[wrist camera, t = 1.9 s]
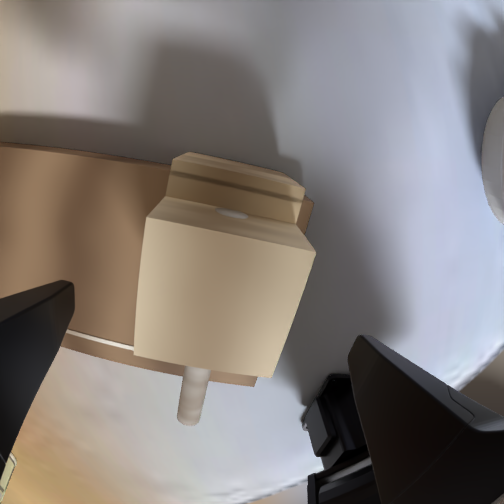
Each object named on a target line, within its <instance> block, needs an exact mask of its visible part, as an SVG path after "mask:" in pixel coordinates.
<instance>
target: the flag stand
mask: <svg viewBox="0 0 504 504" xmlns="http://www.w3.org/2000/svg"><path fill="white" fill-rule="evenodd" d="M481 166H482V179H483V184H484V190H485V194H486V197H487V200H488V204H489V206H490V208H491V210H492V212H493V214H494V215H495V217H496V218H497V219H498V220H499V221H500V222H501V223H502V224H504V96H503V97H502V98H501V99H500V100H499V101H497V103H496V104H495V106H494V107H493V109H492V110H491V113H490V115H489V117H488V120H487V123H486V127H485V131H484V135H483V143H482V158H481Z"/></svg>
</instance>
